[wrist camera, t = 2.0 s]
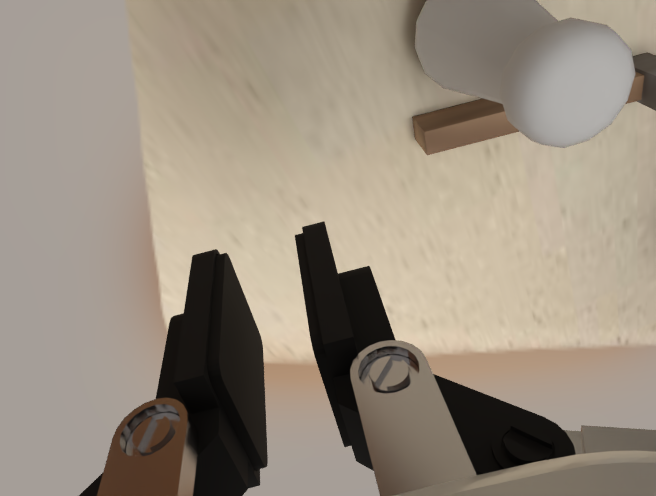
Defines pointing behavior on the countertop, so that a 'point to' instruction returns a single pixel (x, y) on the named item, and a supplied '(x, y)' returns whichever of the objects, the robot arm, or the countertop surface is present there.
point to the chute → (490, 118)
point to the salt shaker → (528, 65)
